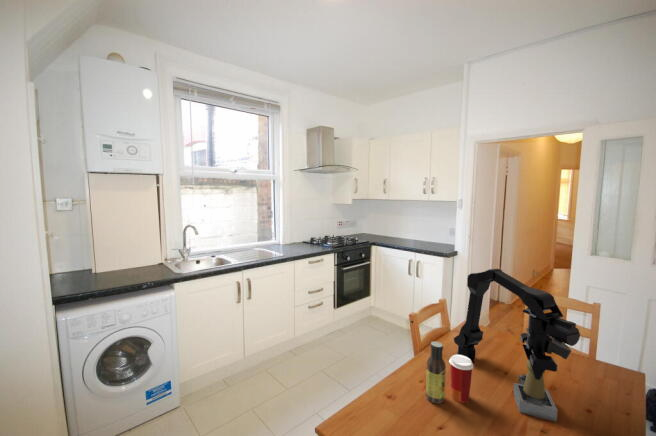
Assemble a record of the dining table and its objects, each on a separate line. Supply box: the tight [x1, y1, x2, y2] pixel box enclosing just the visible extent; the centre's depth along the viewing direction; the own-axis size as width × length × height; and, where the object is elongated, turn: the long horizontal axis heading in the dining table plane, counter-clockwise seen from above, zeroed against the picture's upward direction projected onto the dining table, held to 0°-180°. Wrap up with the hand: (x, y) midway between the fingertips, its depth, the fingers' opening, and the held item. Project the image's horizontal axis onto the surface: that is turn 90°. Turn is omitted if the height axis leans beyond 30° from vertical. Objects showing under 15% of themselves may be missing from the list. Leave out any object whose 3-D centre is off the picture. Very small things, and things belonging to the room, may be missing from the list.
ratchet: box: [512, 373, 559, 423], centre depth 101 cm, size 10×19×5 cm, turn 157°
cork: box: [523, 359, 547, 399], centre depth 96 cm, size 6×6×11 cm
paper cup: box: [448, 354, 475, 404], centre depth 101 cm, size 8×8×14 cm
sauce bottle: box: [425, 341, 447, 404], centre depth 100 cm, size 6×6×20 cm
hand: (535, 374), depth 96 cm, fingers closed on cork, 5 cm apart
